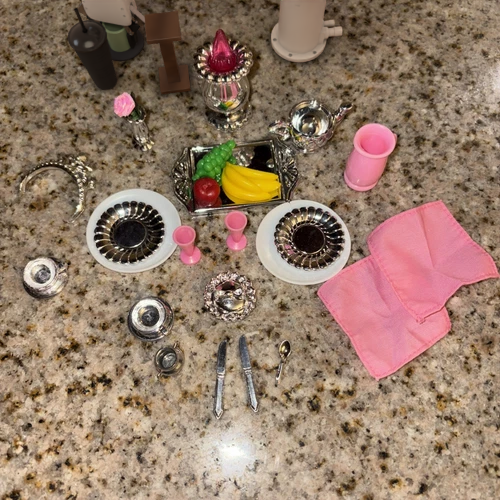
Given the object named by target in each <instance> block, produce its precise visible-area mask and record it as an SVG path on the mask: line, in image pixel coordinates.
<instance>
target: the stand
mask: <svg viewBox="0 0 500 500" xmlns="http://www.w3.org/2000/svg"><path fill="white" fill-rule="evenodd" d="M143 16H144V17H145V25H144V28H145V39H146V45H148V46H149V45H156V44H158V46H159V50H160V53H161V58H162V62H163V65H164V66H160V67H158V70H157V71H158V79H159V81H158V82H159V90H160V95H169V94H178V93H186V92H187V93H188V92H191V91H192V90H191V89H192V88H191V81H190V73H189V65H188V63H186V64H179V63H178V58H177V54H176V53H177V52H176V49H175V43H176V42H180V41H182V32H181V24H180V15H179V11H178V10H173V11H171V10H170V11H162V12H155V13H153V12H152V13H146V14H145V13H144V14H143ZM174 42H175V43H174Z"/></svg>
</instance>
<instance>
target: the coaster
mask: <svg viewBox="0 0 500 500" xmlns="http://www.w3.org/2000/svg"><path fill="white" fill-rule="evenodd" d="M137 35H138V42H137V43H135V46H134V48H130V49H128V50H126V51H123V52H117V51H114V50H113V49H111V48H110V46H109V49H110V53H111V57H112V61H115V62H125V61H130V60H132V59H134V58H135V57H137V56H138V55H139V54H140V53H141V52H142V51H143V48H144V45H145V39H144V35H143V33H142V32H141V31H140V29H138V30H137ZM108 45H109V43H108Z"/></svg>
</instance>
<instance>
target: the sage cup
mask: <svg viewBox="0 0 500 500" xmlns="http://www.w3.org/2000/svg"><path fill="white" fill-rule="evenodd" d="M102 25H103V26H104V27H105V29H106V32H107V41H108V43H109V46H110V48H111V49H113V50H114V51H117V52H123V51H126V50H128V49H130V48H131V47H130V45H129V42H128V39H127V36H126V35H127V31H126V30H125V28H124V27H123V25H117V24H112V23H107V22H102Z"/></svg>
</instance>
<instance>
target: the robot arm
mask: <svg viewBox="0 0 500 500" xmlns="http://www.w3.org/2000/svg"><path fill="white" fill-rule="evenodd" d="M326 6H327V0H280V1H279V13H278V22H277V23H276V24H275V25H274V26H273V28H272V30H271V34H270V43H271V47H272V49H273V50H274V52H275V53H276V54H277V55H278V56H279V57H280V58H282V59H284V60H286V61H289V62H292V63H305V62H310V61H312V60H315V59H316V58H318V57H319V56H321V54H322V53H323V51H325V48H326V44H327V40H328V39H329V37H341V36H342V35H343V27H342V26H335V23H336V22H335V19H327V20H324V17H325V12H326V11H325V10H326ZM77 9H78V11H79V13H80V14H81V15H83V16H85V18H86V19H87V20H93V21H97V22H99V23H101V24H102V22H107V23H112V24H117V25H123V27H124V28H125V30H126V31H127V35H126V36H127V39H128V42H129V45H130V47H131V48H134V46H135V43H137V42H138V35H137V30H140V28H142V27H145V17H144V14H143V13H141V12H140V11H139V10H138V5H137V2H136V0H81V1H80V3H79V5H78V7H77Z"/></svg>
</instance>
